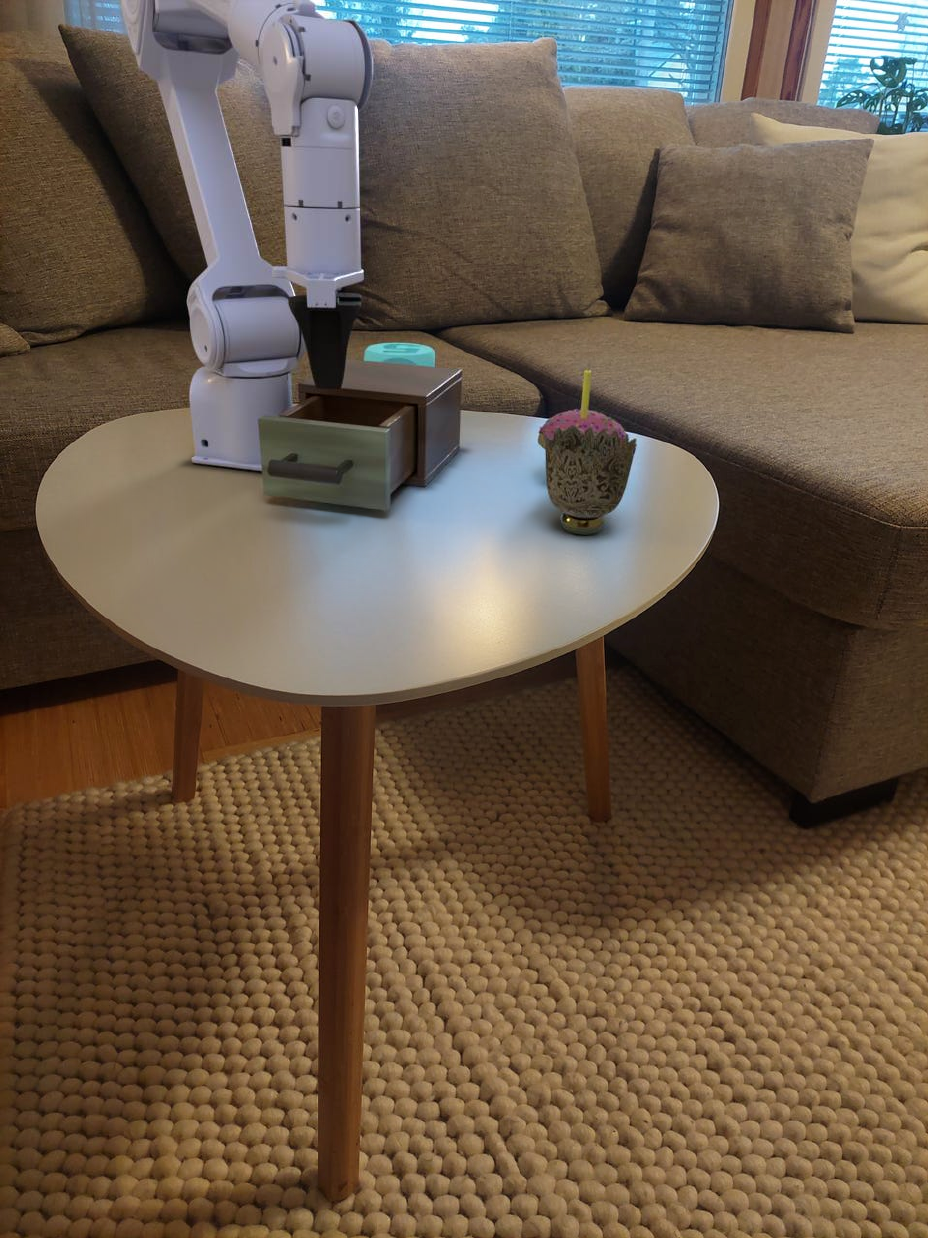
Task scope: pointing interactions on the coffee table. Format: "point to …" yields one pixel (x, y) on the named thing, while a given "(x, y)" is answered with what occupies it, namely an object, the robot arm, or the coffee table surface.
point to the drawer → (339, 450)
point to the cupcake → (581, 418)
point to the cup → (587, 475)
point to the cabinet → (414, 386)
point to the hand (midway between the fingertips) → (328, 387)
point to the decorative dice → (401, 354)
